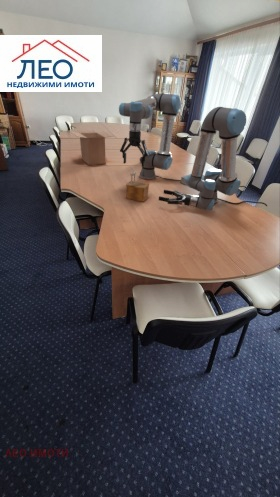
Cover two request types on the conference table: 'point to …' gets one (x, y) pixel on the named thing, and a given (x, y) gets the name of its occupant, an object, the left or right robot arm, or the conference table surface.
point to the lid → (136, 183)
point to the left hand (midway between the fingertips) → (133, 164)
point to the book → (183, 180)
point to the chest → (137, 193)
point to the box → (92, 146)
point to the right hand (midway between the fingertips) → (161, 194)
